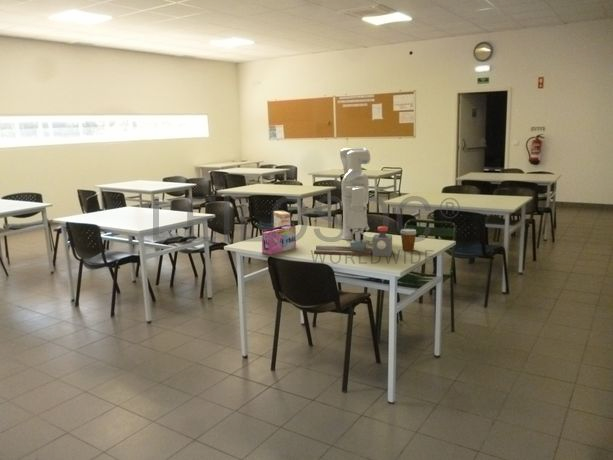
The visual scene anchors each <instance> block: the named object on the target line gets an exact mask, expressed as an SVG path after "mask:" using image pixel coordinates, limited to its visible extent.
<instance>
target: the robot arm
mask: <svg viewBox="0 0 613 460" xmlns="http://www.w3.org/2000/svg"><path fill="white" fill-rule="evenodd" d="M339 157H340V160H341V163H342V165H343V178H342V180H341V182H340V184H341V187H340V188H341V202H342V222H343V223H342V225H343V226H342V227H343V230H342V232H343V233H342V234H343V235H341V236H340V238H341V239H342V240H344V241H345V240H346V241H347V240H348V241H352V240H354V241H355V231H359V230H360V231H361V234H360V241H362V240H364V234H365V233H366V232H367V231H369V230H370V227H369V225H368V214H367V211H366V210H368V206H366V205H368V203H369V199H370V198H369V194H370V193H369V189H370V187H369V185H370V184H369V183H370V182H369V177H368V175H367V174H366V173H362V165H368V164H370V162H371V153H370V151H369V149H367V148H366V147H345V148H342V149H340V151H339Z"/></svg>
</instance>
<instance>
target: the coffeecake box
mask: <svg viewBox="0 0 613 460" xmlns="http://www.w3.org/2000/svg"><path fill="white" fill-rule="evenodd" d="M284 225H289V226H291V213H290V212H288V211H285V210H274V211H273V228H276V227H280V226H284Z"/></svg>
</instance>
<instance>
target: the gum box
mask: <svg viewBox="0 0 613 460" xmlns="http://www.w3.org/2000/svg"><path fill="white" fill-rule="evenodd" d="M296 231H297V230H296V226H295V225H290V226H289V225H284V226H280V227H276V228H274V227H273V228H268V229H263V230H261V251H262V252H261V253H263V254H267V255H275V254H279V253H281V252H285V251H289V250H292V249H296V248H297V237H296V236H297V234H296V233H297V232H296Z"/></svg>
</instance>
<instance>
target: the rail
mask: <svg viewBox="0 0 613 460" xmlns="http://www.w3.org/2000/svg"><path fill="white" fill-rule="evenodd" d="M313 254H315V255H316V254H317V255H339V254H347V255H346V256H372V255H373V246H366V247H365V251H351V248H350V245H349V246H348V245H322V244H321V245H320V244H317V245H315V249H314V251H313Z"/></svg>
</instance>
